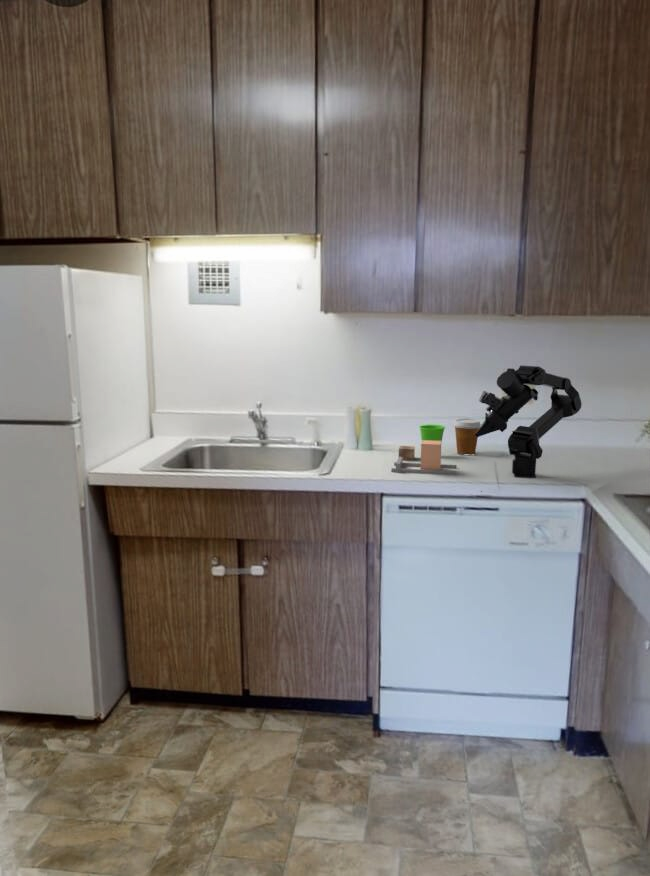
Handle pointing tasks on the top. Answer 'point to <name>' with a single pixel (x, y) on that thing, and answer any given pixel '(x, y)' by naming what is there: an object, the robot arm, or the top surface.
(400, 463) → the track
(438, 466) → the terracotta block
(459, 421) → the disposable coffee cup
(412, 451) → the walnut block
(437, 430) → the cup
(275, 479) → the top surface
